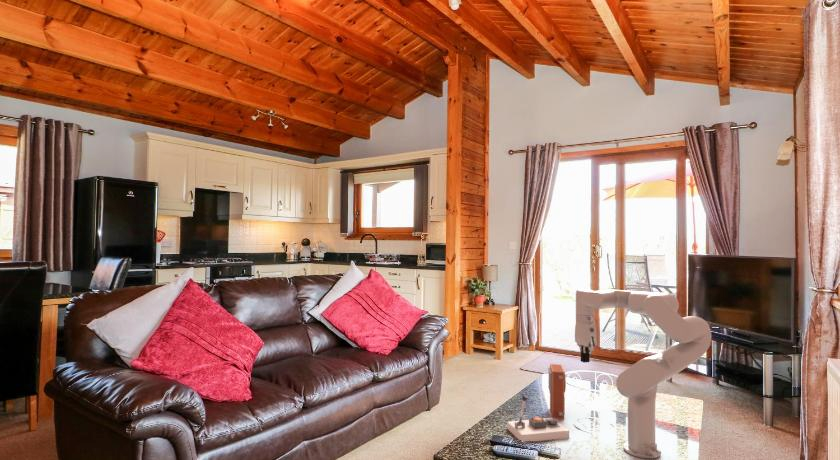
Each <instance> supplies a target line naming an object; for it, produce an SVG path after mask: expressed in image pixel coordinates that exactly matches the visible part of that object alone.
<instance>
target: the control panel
mask: <svg viewBox="0 0 840 460" xmlns="http://www.w3.org/2000/svg"><path fill="white" fill-rule="evenodd" d="M547 370H548V391H549V410H550V414H551V418H553V419H558V420H565V416H566V415H565V414H566V413H565V412H566V411H565V410H566V409H565V402H566V401H565V398H566V397H565V393H566V389H567V388H566V382H567V381H566V380H567V379H566V372H565V370H564V367H563V365H562V364H557V363H550V364H549V367H548V369H547Z"/></svg>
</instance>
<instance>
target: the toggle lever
mask: <svg viewBox="0 0 840 460" xmlns="http://www.w3.org/2000/svg"><path fill="white" fill-rule="evenodd" d="M521 400H522V402H521V407H520V411H519V412H520V413H519V418H518V421H519V422H517V423H518V426H523V422H522V420H523V417H524V412H525V407H526V401H527V400H528V397H527V396H526V395H523V396H522V398H521Z"/></svg>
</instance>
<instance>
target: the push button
mask: <svg viewBox="0 0 840 460" xmlns="http://www.w3.org/2000/svg"><path fill="white" fill-rule="evenodd" d="M539 417H540V416H535V417H532V418H533V421H534V422H542V419H543V418H542V417H541V418H539Z"/></svg>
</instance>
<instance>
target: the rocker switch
mask: <svg viewBox="0 0 840 460" xmlns="http://www.w3.org/2000/svg"><path fill="white" fill-rule="evenodd" d="M547 420H548V423H550V424H553V423H559V419H558V420H555V419H547Z"/></svg>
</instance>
